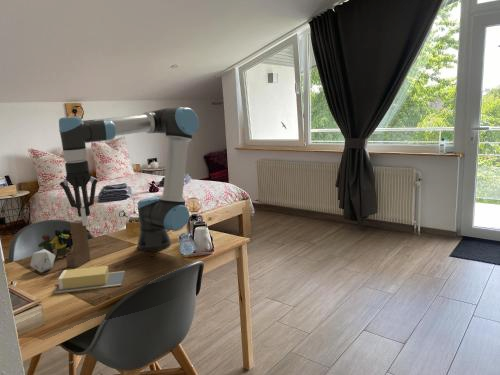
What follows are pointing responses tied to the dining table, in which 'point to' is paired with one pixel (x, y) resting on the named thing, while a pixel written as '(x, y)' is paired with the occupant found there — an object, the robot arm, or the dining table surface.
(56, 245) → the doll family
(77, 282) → the ochre slab
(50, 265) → the die
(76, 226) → the wooden block
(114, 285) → the felt mat
